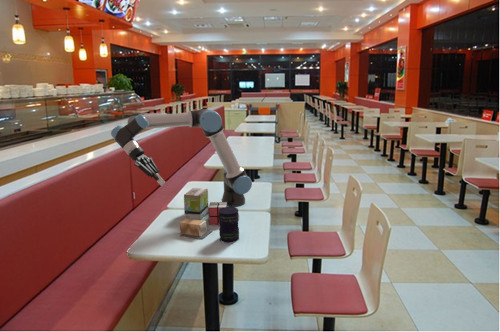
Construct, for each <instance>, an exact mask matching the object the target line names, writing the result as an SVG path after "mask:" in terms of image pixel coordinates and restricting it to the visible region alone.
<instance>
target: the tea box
mask: <svg viewBox="0 0 500 332" xmlns="http://www.w3.org/2000/svg"><path fill="white" fill-rule="evenodd" d="M183 205H184V206H183V209H184V219H193V220H201V221H202V219H203V218H204V217H205V216H206V215H207V213H208V214H209V210H208V208H209V189H208V188H201V187H200V188H197V187H192V188H191V189H190V190H188V191H187V192H186V193H184V194H183Z"/></svg>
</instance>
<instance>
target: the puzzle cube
mask: <svg viewBox="0 0 500 332" xmlns="http://www.w3.org/2000/svg"><path fill="white" fill-rule="evenodd" d="M225 207H229V206H228V202H222V201H219V202H217V201H215V202H213V201H211V202H210V201H209V204H208V225H210V226H215V225H217V226H220V222H219V209H221V208H225Z"/></svg>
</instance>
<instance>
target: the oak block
mask: <svg viewBox="0 0 500 332" xmlns="http://www.w3.org/2000/svg"><path fill="white" fill-rule="evenodd" d="M207 230H208V229H207V220H202V219H201V220H193V219H185V218H184V219H183V220H182V221H180V222H179V231H180V235H181V234H188V235H195V236H202V235H203V234H205V233H206V232H207Z"/></svg>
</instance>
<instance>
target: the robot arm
mask: <svg viewBox="0 0 500 332" xmlns="http://www.w3.org/2000/svg"><path fill="white" fill-rule="evenodd" d="M176 127H178V128H179V127H189V128H200V129H201V130H202V132H203V134H204V137H205V138H208V139H209V140H210V142H211V144H212V146H213V149H214V150H215V152H216V154H217V156H218V158H219V159H220V162H221V164H222V165H223V168H224V169H223V171H222V172H223V173H222V175H223V178H222V179H223V194H222V198H221V202H228V207H239V206H242V205H245V204H246V197H245V194H247V193H249V192H250V190H251V188H252V186H253V182H252V179H251V177H250V176H248V175H247V173H246V170H245V168H244V167H243V166H242V167H241V166H240V164H239V162H238V160H237V157H236V156H235V154H234V151H233V150H232V147H231V146H230V144H229V141H228V140H227V137H226V135H225V133H224V131H225V127H224V125H223V119H222V117H221V115H220V113H218V112H217V111H215V110H213V109H209V108H208V109H207V108H203V109H196V110H189V111H188V112H183V113H182V112H181V113H179V112H178V113H165V114H164V113H163V114H150V115H149V114H148V115H147V114H146V115H143V114H142V113H139V114H138V115H130V116H129V118H128V119H127V123H126V125H124V126H122V125H121V124H120V125H117V126H115V127H114V128H113V129H112V130H111V132H110V135H111V137H112V138H113V139H114V141H115V142H116V143H117V144H118V145H119V146H120V147H121V149H122V150H123V151H125V154H127V155H128V157H129V158H130V159H131V160H132V161H134V166H135V167H137V168H138V169H139V170H140V171H142V172H143V173H144V174H145V175H146V176H148V177H149V178H150V179H152V178H153V179H154V180H155V181H156V183H158V185H160V186H161V187H162V186H164V185H165V184H166V181H165V180H164V179H163V177H162V175H160V173H159V172H160V169H159V168H158V166H157V165H156V163H155V161H154V160H153V157H152V156H150V157H148V156H147V155H146V154H145V151H144V149H143V148H142V147H141V146H140V145H139V143H138V142H137V141H136V140H135V139H134V138H135V137H136V136H137V135H139V134H140V133H141V132H142V131H143V130H147V129H161V128H162V129H163V128H176Z"/></svg>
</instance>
